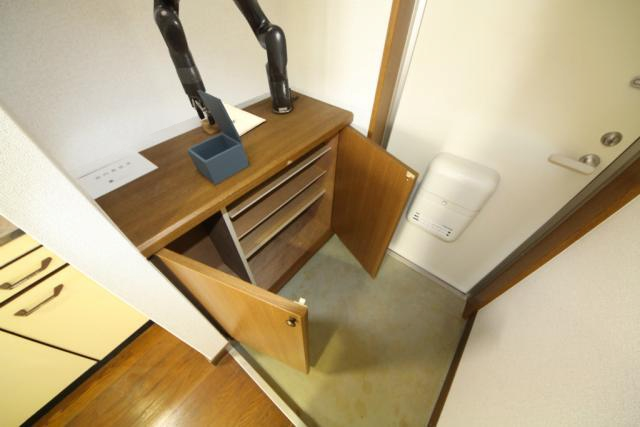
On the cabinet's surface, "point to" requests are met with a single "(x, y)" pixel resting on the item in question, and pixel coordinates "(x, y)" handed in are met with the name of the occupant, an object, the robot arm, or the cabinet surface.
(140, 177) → the cabinet surface
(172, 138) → the cabinet surface
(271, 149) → the cabinet surface
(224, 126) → the lid
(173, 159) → the cabinet surface
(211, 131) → the block
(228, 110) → the white triangular panel
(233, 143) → the chest
